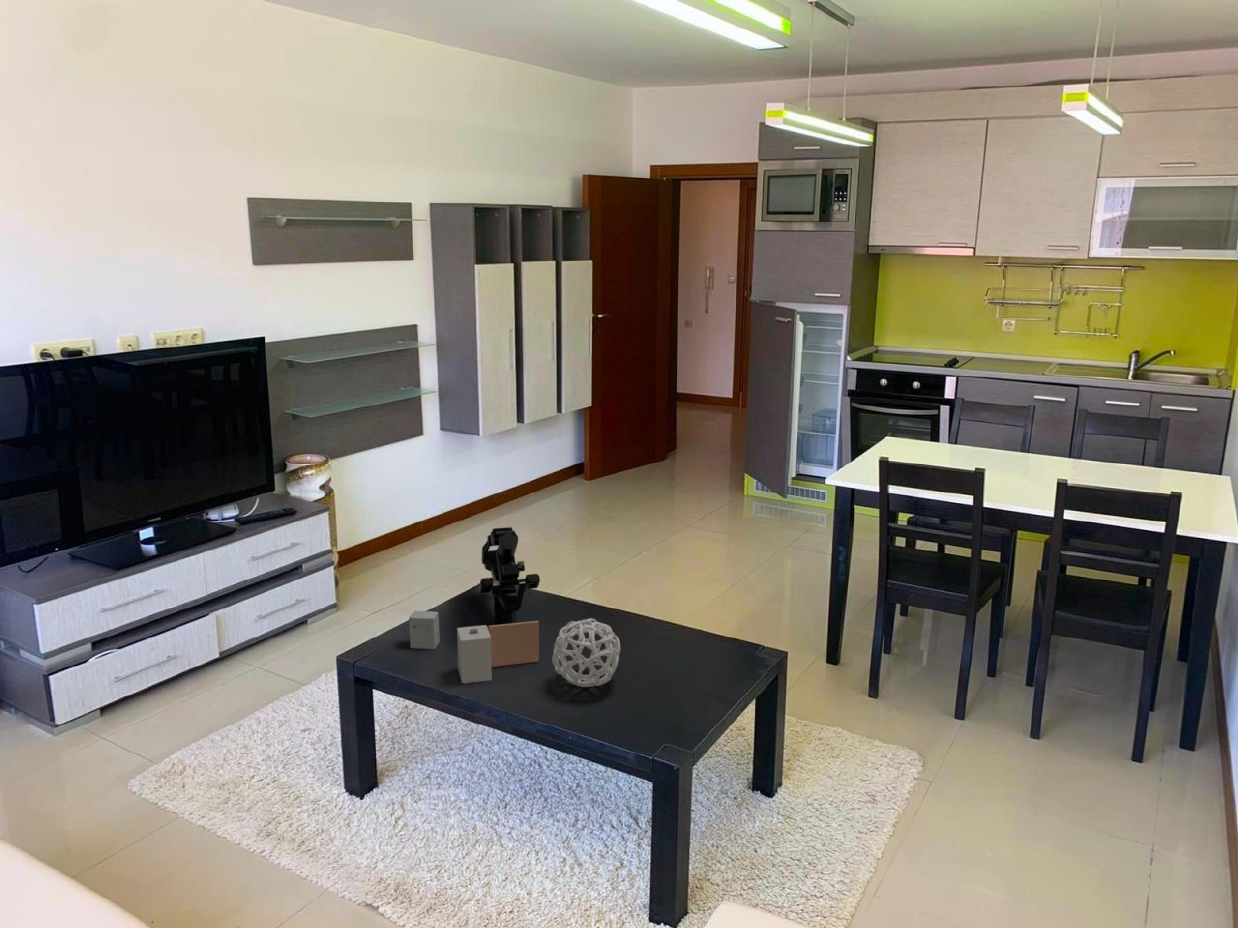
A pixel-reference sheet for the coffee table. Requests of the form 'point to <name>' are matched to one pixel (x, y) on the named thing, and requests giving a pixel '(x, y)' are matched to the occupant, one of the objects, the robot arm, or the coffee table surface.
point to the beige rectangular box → (474, 654)
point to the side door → (514, 643)
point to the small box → (424, 629)
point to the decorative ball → (610, 652)
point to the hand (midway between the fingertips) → (513, 608)
